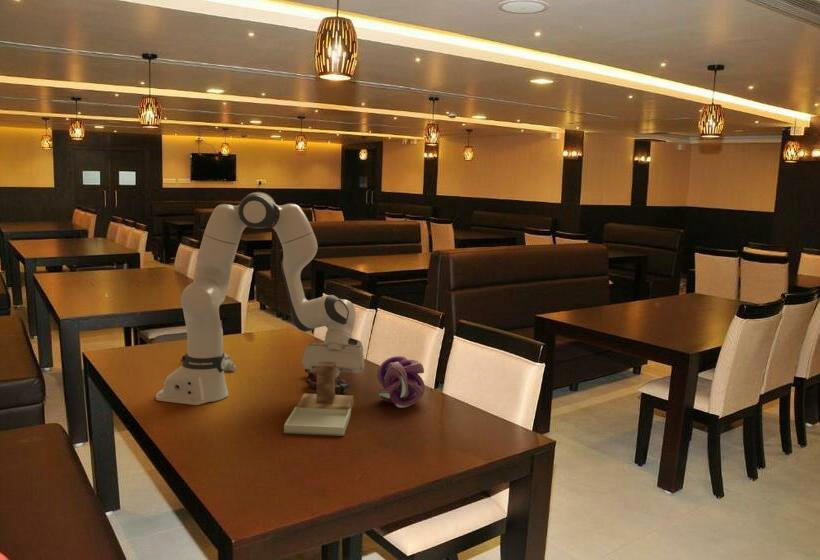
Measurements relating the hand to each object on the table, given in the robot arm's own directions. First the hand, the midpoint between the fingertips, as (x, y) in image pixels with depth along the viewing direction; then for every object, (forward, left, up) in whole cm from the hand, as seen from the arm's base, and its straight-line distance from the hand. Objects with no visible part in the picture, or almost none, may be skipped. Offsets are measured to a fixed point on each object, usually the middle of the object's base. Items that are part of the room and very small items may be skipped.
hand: (329, 381), depth 199 cm
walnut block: (0, -4, -5) cm, 7 cm away
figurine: (-4, +17, -8) cm, 20 cm away
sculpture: (+23, +7, -8) cm, 25 cm away
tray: (0, -16, -8) cm, 18 cm away
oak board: (0, -3, -8) cm, 9 cm away
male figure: (-50, +38, -8) cm, 64 cm away
